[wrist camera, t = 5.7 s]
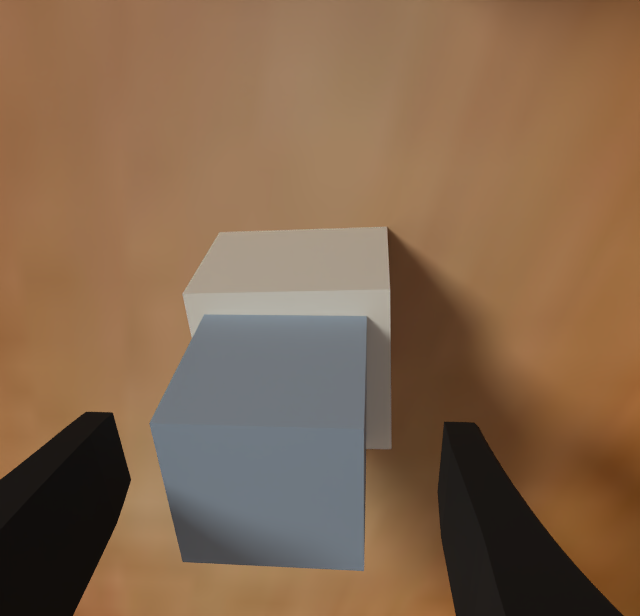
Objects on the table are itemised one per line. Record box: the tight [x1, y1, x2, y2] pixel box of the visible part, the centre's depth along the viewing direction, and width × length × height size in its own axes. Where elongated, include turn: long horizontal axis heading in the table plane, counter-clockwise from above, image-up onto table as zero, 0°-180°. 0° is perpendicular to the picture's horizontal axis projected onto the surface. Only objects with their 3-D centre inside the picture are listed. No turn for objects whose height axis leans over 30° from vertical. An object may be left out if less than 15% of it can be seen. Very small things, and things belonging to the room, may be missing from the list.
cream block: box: [183, 227, 392, 449], centre depth 17 cm, size 5×5×4 cm
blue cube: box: [150, 314, 367, 571], centre depth 13 cm, size 4×4×4 cm
